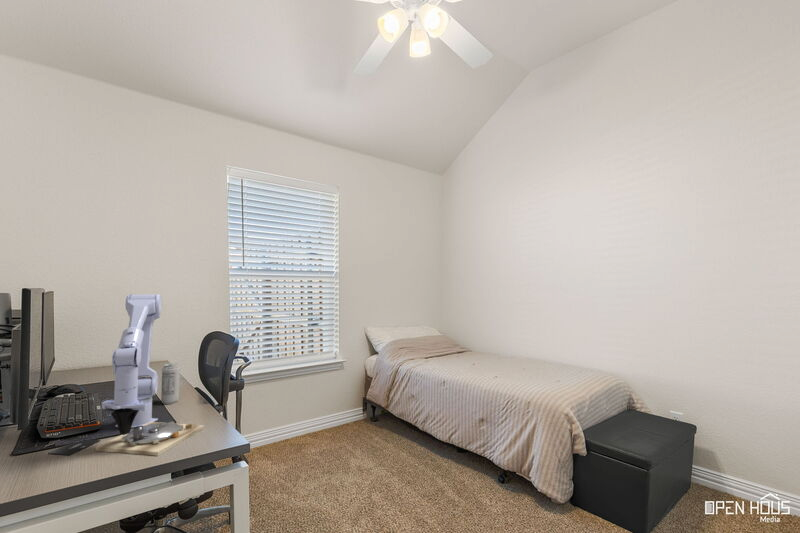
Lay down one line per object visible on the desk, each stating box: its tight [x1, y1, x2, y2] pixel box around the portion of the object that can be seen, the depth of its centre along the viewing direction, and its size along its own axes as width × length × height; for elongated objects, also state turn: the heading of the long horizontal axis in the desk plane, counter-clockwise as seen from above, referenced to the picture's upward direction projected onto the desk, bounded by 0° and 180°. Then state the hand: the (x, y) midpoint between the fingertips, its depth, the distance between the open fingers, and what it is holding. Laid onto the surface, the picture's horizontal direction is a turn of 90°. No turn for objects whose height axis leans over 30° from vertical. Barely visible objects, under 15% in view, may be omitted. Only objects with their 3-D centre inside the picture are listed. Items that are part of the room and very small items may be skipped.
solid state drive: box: [47, 438, 101, 456], centre depth 115 cm, size 7×10×1 cm
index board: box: [95, 421, 205, 457], centre depth 121 cm, size 20×20×2 cm
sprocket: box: [122, 421, 183, 446], centre depth 121 cm, size 16×16×4 cm
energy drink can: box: [160, 362, 180, 405], centre depth 156 cm, size 6×6×15 cm
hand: (125, 433), depth 117 cm, fingers closed
